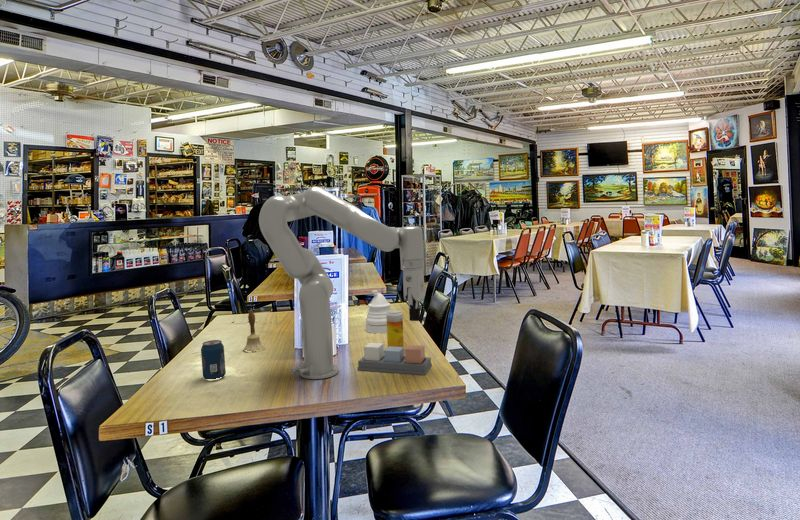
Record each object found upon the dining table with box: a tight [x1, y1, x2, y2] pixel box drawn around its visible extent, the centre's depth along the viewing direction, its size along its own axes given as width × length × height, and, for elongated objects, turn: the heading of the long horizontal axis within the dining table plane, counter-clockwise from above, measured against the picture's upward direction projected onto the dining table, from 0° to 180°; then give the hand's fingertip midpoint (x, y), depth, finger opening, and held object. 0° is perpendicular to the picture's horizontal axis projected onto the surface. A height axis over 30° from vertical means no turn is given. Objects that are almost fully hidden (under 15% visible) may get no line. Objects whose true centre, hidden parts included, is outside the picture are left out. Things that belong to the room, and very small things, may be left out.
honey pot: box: [365, 289, 392, 334], centre depth 208 cm, size 13×13×18 cm
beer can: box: [386, 309, 405, 348], centre depth 175 cm, size 6×6×15 cm
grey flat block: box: [357, 355, 433, 376], centre depth 155 cm, size 23×9×3 cm, turn 73°
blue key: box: [384, 346, 405, 363], centre depth 155 cm, size 5×5×4 cm
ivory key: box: [363, 342, 385, 361], centre depth 157 cm, size 5×5×4 cm
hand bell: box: [243, 309, 265, 351], centre depth 183 cm, size 8×8×16 cm
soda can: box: [200, 339, 227, 380], centre depth 151 cm, size 7×7×12 cm
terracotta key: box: [404, 344, 426, 364], centre depth 153 cm, size 5×5×4 cm
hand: (415, 320), depth 152 cm, fingers closed
